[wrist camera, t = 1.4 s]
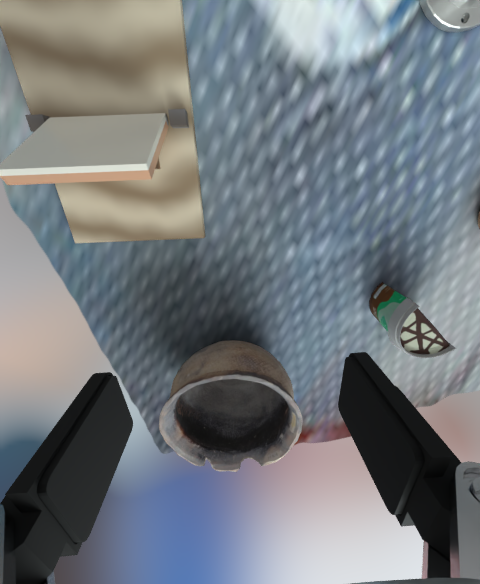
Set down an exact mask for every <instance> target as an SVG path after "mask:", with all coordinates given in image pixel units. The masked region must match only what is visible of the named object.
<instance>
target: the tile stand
mask: <svg viewBox="0 0 480 584" xmlns="http://www.w3.org/2000/svg"><path fill="white" fill-rule="evenodd" d="M0 26H1V29H2V32H3V35H4V38H5V41H6V44H7V47H8V50H9V52H10V55H11V58H12V61H13V64H14V67H15V70H16V73H17V76H18V78H19V81H20V84H21V87H22V90H23V93H24V96H25V99H26V102H27V105H28V107H29V110H30V113H31V115H26V118H27V121H28V124H29V127H30V130H31V131H33V132H35V131H36V130H37V129H38V128H39V127H40V126H41V125H42V124H43V123H44V122H45V121H46V120H48V119H49V118H51V117H77V116H103V115H128V114H154V113H165V114H167V117H168V122H169V125H168V130H167V134H166V137H165V140H164V143H163V146H162V149H161V152H160V155H159V158H158V161H157V164H156V168H155V171H154V174H153V177H152V179H149V180H124V181H99V182H74V183H55V186H56V189H57V191H58V194H59V197H60V200H61V203H62V206H63V209H64V212H65V215H66V218H67V220H68V223H69V226H70V229H71V232H72V235H73V238H74V241H75V243H93V242H117V241H142V240H166V239H191V238H204V237H205V227H204V217H203V207H202V197H201V187H200V177H199V167H198V157H197V147H196V137H195V127H194V117H193V107H192V97H191V87H190V77H189V67H188V57H187V48H186V38H185V28H184V18H183V8H182V0H0Z"/></svg>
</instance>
